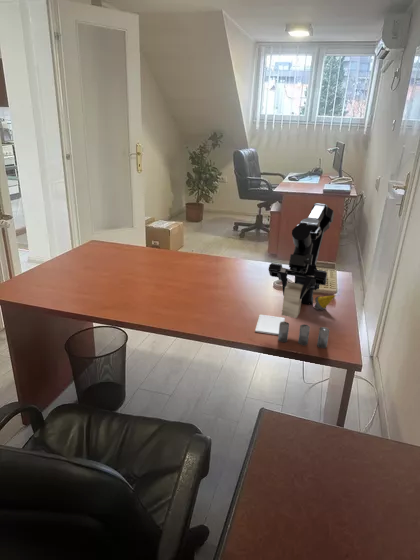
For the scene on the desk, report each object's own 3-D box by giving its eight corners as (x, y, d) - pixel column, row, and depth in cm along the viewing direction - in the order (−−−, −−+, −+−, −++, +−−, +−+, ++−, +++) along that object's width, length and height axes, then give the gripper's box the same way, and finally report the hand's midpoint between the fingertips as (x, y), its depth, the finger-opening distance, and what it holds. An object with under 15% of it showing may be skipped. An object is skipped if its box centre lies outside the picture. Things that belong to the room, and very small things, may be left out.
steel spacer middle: (298, 339, 131) (300, 323, 128) (307, 341, 130) (309, 325, 128) (297, 344, 128) (300, 328, 126) (307, 346, 127) (309, 329, 125)
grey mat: (259, 315, 146) (259, 314, 145) (284, 319, 144) (284, 317, 143) (255, 331, 135) (255, 330, 135) (281, 335, 133) (281, 334, 133)
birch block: (285, 308, 136) (288, 282, 132) (299, 311, 134) (303, 284, 130) (281, 315, 132) (284, 287, 128) (296, 318, 130) (300, 290, 126)
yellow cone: (317, 304, 156) (339, 293, 150) (318, 315, 153) (340, 304, 147) (308, 298, 154) (330, 286, 148) (309, 309, 151) (331, 297, 145)
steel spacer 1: (278, 336, 132) (280, 321, 130) (287, 338, 132) (289, 322, 129) (277, 341, 130) (279, 325, 127) (286, 342, 129) (288, 326, 127)
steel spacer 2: (317, 342, 130) (319, 326, 127) (326, 344, 129) (329, 327, 127) (317, 347, 127) (319, 331, 124) (326, 348, 126) (329, 332, 124)
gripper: (272, 239, 130) (260, 282, 125) (330, 247, 124) (321, 293, 119) (275, 255, 140) (265, 295, 135) (330, 263, 134) (321, 305, 129)
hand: (292, 297), depth 129 cm, fingers closed on birch block, 5 cm apart
